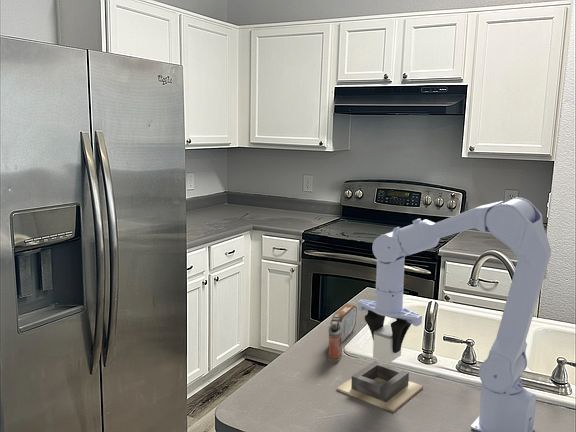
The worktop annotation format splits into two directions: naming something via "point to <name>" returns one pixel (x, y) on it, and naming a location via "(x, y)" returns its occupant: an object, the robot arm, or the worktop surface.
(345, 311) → the tin
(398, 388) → the socket
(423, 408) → the worktop surface
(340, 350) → the lighter
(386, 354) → the plug
